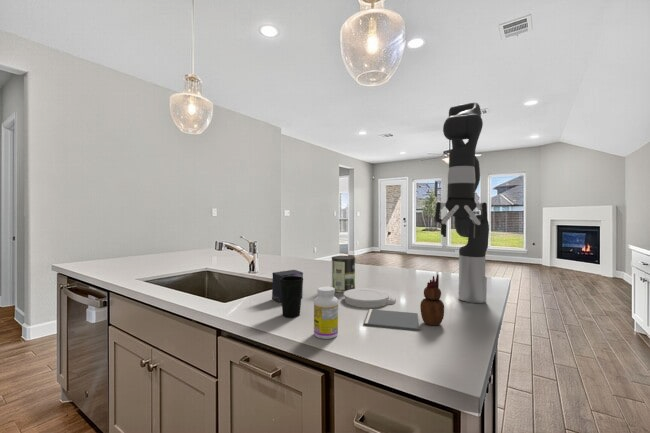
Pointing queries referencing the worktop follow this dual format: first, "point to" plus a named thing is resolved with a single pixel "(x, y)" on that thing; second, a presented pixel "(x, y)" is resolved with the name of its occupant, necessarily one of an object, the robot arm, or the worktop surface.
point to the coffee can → (343, 273)
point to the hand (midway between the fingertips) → (459, 237)
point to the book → (392, 319)
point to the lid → (368, 298)
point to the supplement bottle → (326, 313)
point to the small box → (276, 282)
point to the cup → (291, 295)
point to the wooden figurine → (432, 303)
